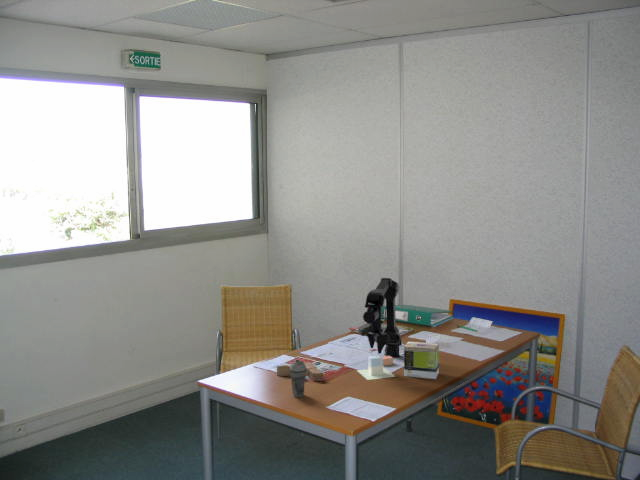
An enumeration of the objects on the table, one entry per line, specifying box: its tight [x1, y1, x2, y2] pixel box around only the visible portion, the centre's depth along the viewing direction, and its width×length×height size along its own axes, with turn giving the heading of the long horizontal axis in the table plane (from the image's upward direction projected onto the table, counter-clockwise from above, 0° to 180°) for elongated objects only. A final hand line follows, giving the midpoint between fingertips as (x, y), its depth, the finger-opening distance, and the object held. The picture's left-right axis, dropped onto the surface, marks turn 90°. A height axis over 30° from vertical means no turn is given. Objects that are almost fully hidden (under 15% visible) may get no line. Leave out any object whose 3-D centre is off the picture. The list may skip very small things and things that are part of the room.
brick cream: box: [367, 364, 384, 375], centre depth 297 cm, size 6×4×4 cm, turn 108°
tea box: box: [403, 341, 440, 380], centre depth 295 cm, size 15×10×15 cm
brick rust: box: [382, 355, 394, 367], centre depth 310 cm, size 6×4×4 cm, turn 110°
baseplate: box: [356, 366, 396, 381], centre depth 297 cm, size 14×14×1 cm
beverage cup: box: [289, 350, 306, 398], centre depth 270 cm, size 7×7×20 cm
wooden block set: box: [276, 361, 324, 382], centre depth 293 cm, size 17×6×18 cm
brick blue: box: [367, 354, 384, 367], centre depth 296 cm, size 6×4×4 cm, turn 107°
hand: (375, 350), depth 296 cm, fingers open, 9 cm apart
